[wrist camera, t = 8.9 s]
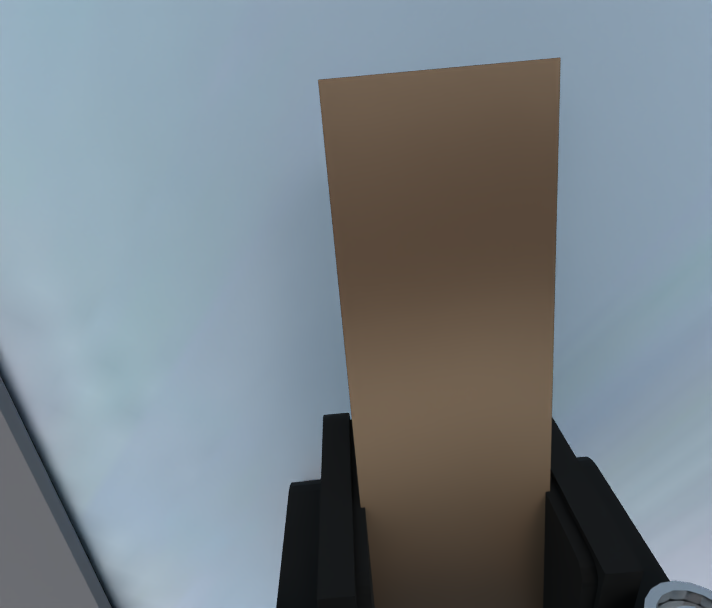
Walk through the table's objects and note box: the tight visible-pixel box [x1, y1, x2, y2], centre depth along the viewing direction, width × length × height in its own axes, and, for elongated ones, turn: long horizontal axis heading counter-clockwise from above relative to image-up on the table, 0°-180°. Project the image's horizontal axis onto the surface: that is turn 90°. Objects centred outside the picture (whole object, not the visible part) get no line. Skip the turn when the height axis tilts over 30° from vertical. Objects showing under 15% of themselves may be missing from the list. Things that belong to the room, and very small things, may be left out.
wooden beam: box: [318, 58, 560, 608], centre depth 11 cm, size 18×6×4 cm, turn 4°
